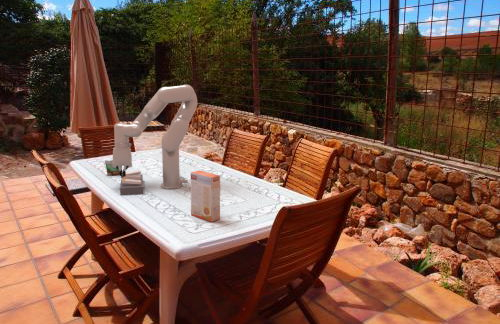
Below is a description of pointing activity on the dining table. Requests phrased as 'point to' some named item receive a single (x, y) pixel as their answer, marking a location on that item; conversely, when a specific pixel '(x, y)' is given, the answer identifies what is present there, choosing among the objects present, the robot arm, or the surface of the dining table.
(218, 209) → the cracker box
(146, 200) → the dining table surface
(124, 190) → the grey switch panel
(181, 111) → the robot arm
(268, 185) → the dining table surface
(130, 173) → the rocker far
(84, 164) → the dining table surface
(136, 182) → the rocker near
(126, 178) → the rocker middle
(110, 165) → the food container
